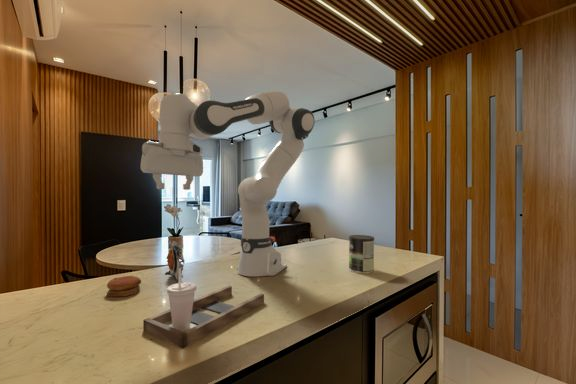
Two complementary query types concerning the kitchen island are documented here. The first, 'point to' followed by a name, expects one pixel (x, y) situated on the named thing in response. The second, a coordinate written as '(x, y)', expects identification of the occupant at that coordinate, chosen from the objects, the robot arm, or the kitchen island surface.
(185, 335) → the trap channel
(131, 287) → the burger
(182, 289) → the smoothie
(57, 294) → the kitchen island surface
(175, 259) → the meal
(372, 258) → the coffee can
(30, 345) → the kitchen island surface
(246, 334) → the kitchen island surface
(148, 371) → the kitchen island surface
